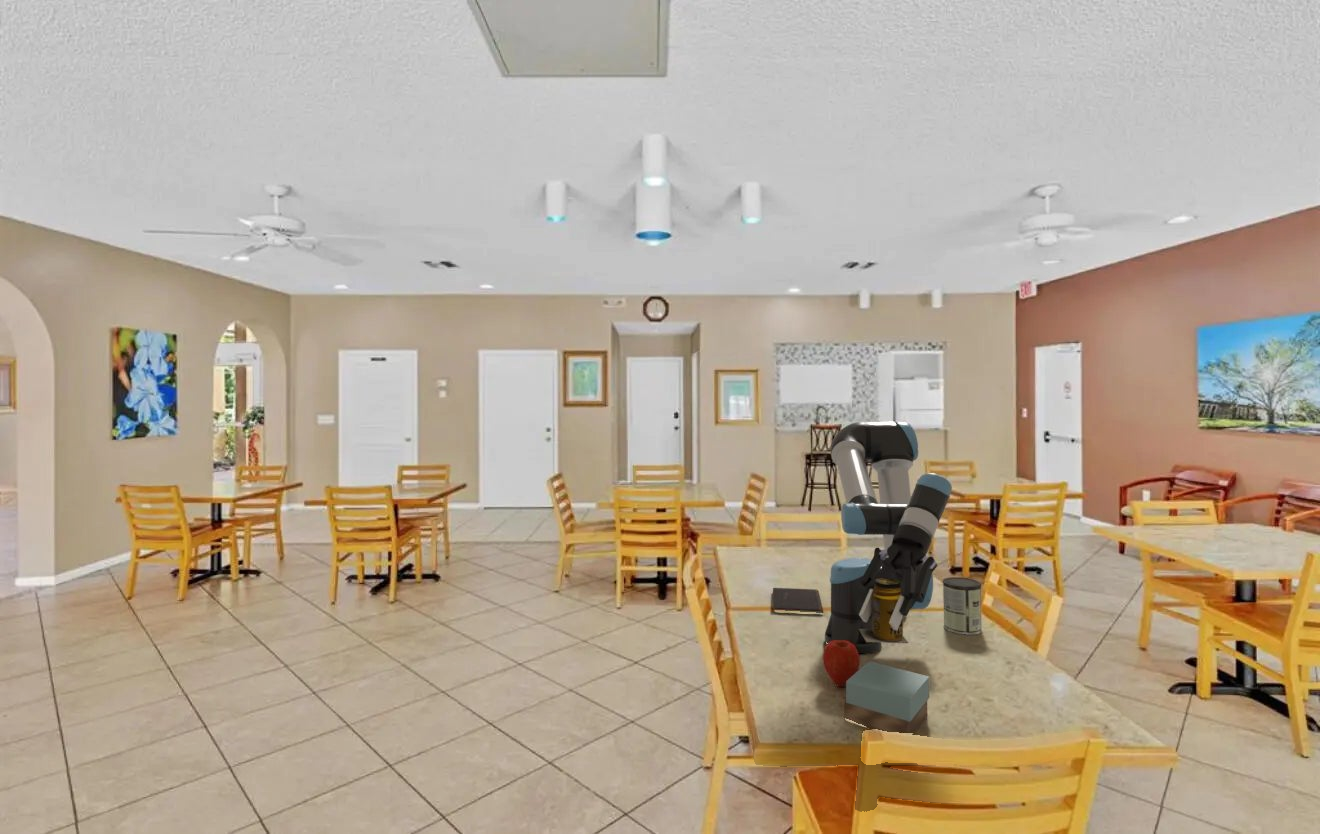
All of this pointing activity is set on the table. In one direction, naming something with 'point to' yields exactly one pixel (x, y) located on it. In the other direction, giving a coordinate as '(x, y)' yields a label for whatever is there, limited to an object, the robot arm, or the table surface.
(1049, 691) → the table surface
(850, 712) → the tower base
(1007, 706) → the table surface
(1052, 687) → the table surface
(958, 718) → the table surface
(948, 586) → the coffee can
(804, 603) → the hardcover book
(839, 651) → the apple
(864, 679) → the tower top
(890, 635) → the condiment
